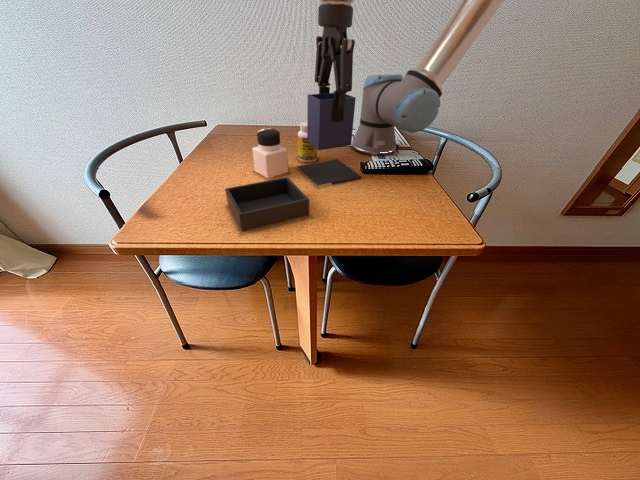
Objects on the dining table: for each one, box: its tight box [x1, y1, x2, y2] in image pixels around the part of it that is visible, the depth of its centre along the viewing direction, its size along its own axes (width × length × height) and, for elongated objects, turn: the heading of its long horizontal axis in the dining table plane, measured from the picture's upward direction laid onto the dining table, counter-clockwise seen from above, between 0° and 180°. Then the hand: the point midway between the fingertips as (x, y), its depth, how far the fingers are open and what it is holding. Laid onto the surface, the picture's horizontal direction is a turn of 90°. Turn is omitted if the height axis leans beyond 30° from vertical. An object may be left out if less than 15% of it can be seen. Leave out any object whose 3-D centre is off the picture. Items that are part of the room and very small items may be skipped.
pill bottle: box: [297, 121, 318, 163], centre depth 89 cm, size 6×6×11 cm
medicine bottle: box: [251, 127, 289, 179], centre depth 80 cm, size 7×7×12 cm
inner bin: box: [306, 92, 357, 151], centre depth 75 cm, size 10×7×12 cm
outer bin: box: [224, 176, 310, 232], centre depth 65 cm, size 15×12×5 cm
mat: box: [296, 159, 362, 186], centre depth 84 cm, size 14×14×1 cm
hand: (330, 117), depth 75 cm, fingers closed on inner bin, 7 cm apart
